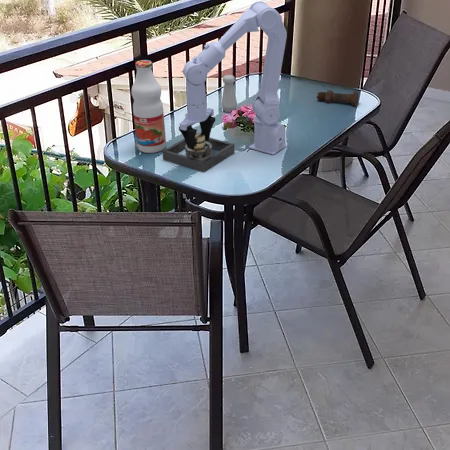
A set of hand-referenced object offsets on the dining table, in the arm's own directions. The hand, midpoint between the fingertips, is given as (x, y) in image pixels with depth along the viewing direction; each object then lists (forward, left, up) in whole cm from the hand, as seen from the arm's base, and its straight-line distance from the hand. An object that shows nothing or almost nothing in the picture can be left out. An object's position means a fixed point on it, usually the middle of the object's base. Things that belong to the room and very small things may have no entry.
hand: (198, 143), depth 183 cm
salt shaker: (+14, -37, -4) cm, 40 cm away
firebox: (0, 0, -4) cm, 4 cm away
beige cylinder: (0, 0, -4) cm, 4 cm away
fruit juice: (+17, +3, -4) cm, 18 cm away
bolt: (-16, -65, -5) cm, 67 cm away
